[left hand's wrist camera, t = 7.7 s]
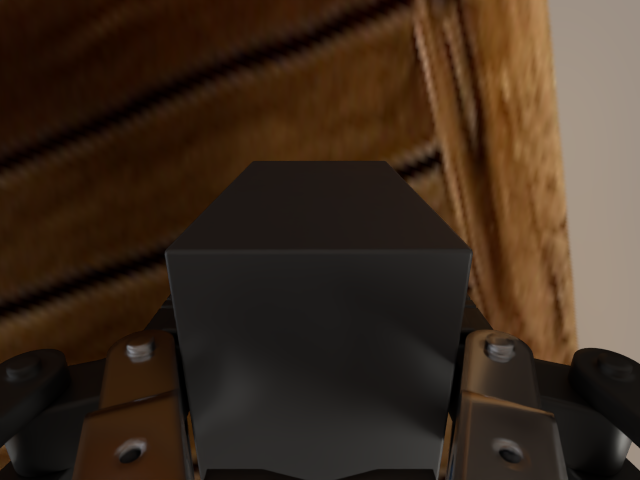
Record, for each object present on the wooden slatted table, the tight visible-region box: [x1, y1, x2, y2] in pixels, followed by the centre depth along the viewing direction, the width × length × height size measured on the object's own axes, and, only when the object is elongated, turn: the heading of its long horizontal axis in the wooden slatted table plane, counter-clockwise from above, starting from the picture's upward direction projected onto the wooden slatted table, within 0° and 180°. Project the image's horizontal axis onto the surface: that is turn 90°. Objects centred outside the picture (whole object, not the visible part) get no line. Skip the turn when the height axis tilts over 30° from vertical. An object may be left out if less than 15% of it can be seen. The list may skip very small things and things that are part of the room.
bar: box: [165, 161, 473, 480], centre depth 15 cm, size 23×5×9 cm, turn 0°
